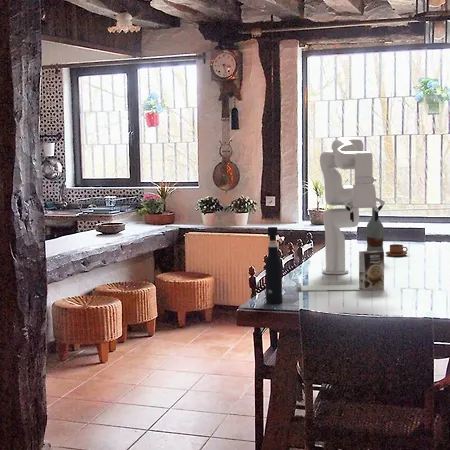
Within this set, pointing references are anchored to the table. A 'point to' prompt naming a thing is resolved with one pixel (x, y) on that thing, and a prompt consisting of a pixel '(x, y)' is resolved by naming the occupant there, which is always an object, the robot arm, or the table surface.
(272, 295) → the wine bottle
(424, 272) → the table surface
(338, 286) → the pale green rectangular board
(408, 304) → the table surface
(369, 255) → the coffee box
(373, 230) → the vodka
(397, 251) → the cup and saucer
